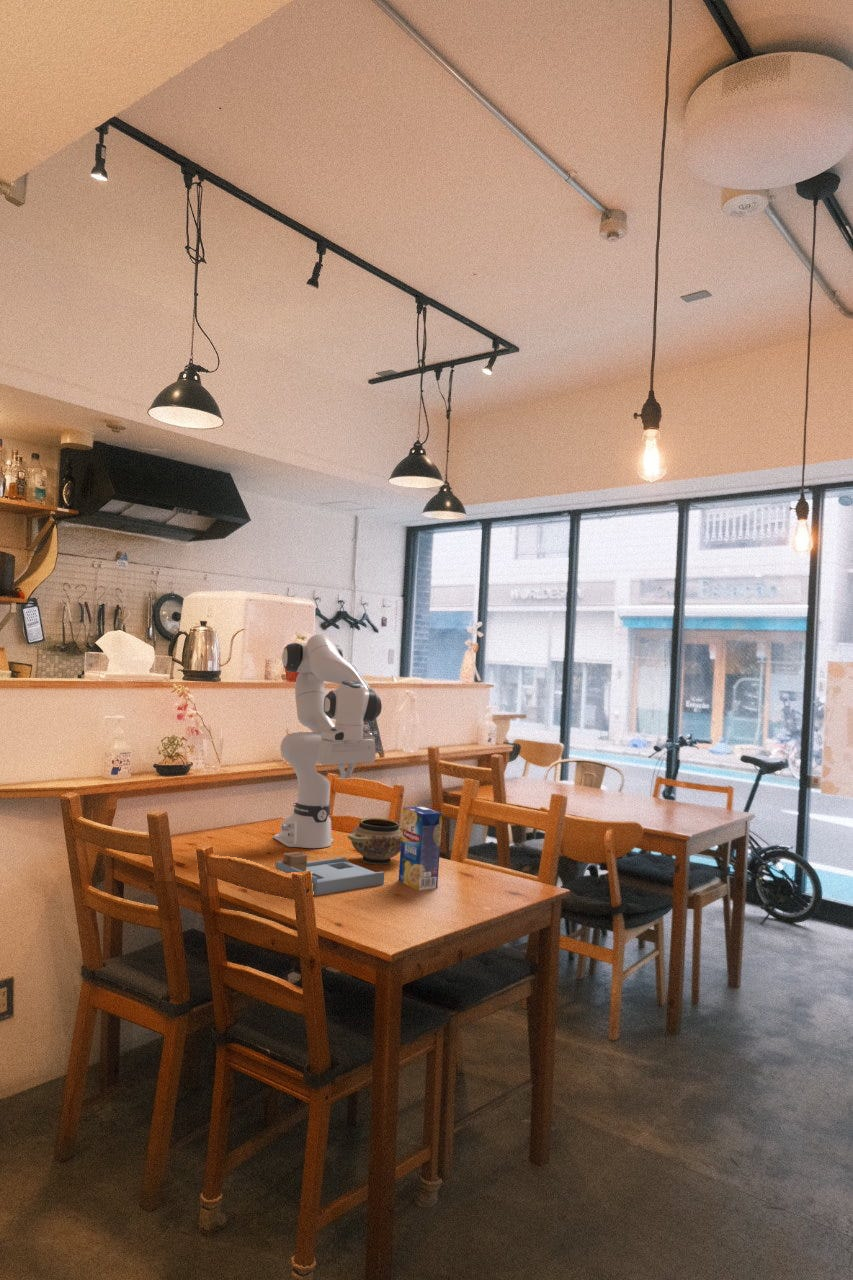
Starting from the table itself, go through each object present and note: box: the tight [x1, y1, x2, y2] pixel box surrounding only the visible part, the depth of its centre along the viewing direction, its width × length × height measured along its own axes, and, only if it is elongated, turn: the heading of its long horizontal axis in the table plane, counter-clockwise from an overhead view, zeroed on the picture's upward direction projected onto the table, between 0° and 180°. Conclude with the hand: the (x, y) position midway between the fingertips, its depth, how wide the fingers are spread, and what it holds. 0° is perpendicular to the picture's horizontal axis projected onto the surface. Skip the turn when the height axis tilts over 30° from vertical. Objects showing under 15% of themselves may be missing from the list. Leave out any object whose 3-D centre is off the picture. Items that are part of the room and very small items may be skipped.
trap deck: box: [274, 856, 385, 897], centre depth 244 cm, size 20×25×5 cm
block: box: [282, 851, 308, 871], centre depth 243 cm, size 5×5×5 cm
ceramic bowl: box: [347, 817, 402, 865], centre depth 272 cm, size 24×18×15 cm
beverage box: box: [398, 806, 443, 891], centre depth 248 cm, size 7×11×22 cm, turn 34°
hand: (345, 778), depth 257 cm, fingers closed
